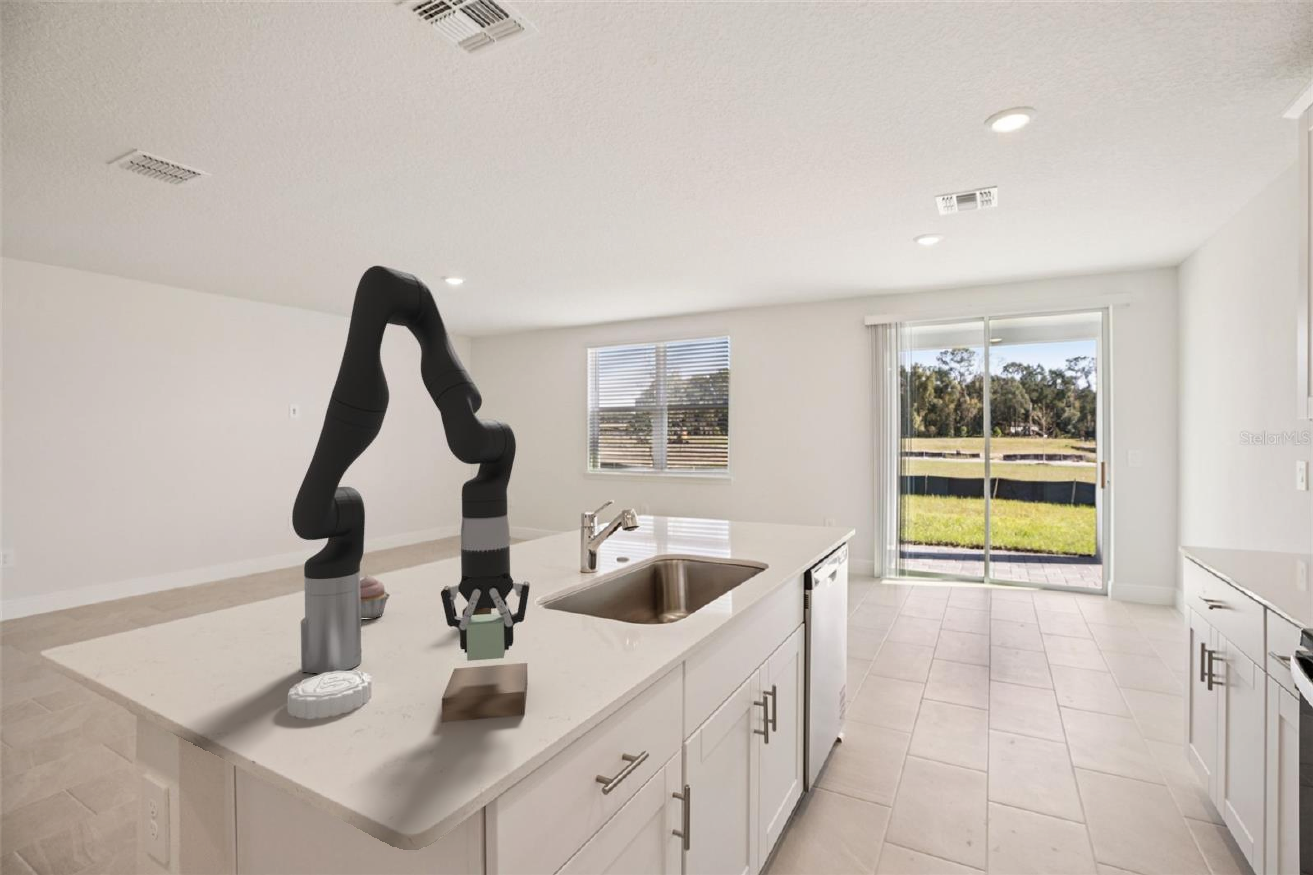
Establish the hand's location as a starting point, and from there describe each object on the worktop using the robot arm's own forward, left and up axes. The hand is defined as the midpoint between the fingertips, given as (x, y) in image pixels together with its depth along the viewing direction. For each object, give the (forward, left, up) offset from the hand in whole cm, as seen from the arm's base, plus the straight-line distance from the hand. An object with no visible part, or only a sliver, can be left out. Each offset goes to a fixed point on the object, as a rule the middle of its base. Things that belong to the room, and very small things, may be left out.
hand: (487, 649), depth 99 cm
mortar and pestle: (-7, +47, -9) cm, 48 cm away
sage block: (0, 0, -1) cm, 1 cm away
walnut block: (0, 0, -9) cm, 9 cm away
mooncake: (-25, +5, -9) cm, 27 cm away
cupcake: (-33, +55, -9) cm, 65 cm away
